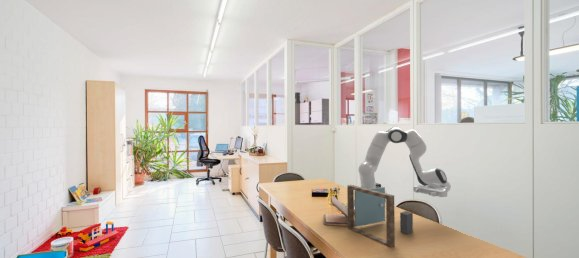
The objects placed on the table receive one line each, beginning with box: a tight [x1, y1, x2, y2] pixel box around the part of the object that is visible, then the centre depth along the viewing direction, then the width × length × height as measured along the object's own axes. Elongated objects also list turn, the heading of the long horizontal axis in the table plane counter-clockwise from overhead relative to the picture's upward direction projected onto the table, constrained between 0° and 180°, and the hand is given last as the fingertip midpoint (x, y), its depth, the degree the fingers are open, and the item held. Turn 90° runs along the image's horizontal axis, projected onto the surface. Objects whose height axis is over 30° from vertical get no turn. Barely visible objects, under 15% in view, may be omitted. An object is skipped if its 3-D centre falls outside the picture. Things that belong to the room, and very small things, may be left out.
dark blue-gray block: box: [399, 210, 414, 235], centre depth 164 cm, size 4×6×12 cm
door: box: [354, 186, 386, 228], centre depth 174 cm, size 24×3×23 cm, turn 113°
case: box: [323, 195, 355, 227], centre depth 185 cm, size 20×21×16 cm
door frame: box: [346, 184, 396, 248], centre depth 158 cm, size 32×3×28 cm, turn 33°
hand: (422, 192), depth 173 cm, fingers open, 8 cm apart
